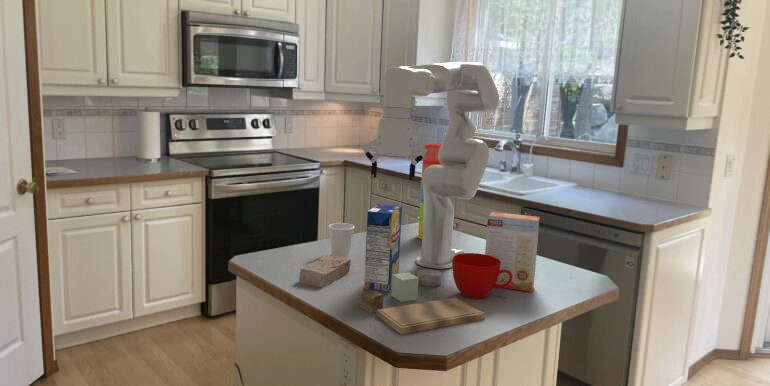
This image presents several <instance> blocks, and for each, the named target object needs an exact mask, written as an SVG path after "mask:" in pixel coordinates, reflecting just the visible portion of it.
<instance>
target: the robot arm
mask: <svg viewBox="0 0 770 386" xmlns="http://www.w3.org/2000/svg"><path fill="white" fill-rule="evenodd" d="M384 73H385V74H384V77H383V87H384V89H383V90H384V91H383V103H382V104H383V105H382V106H383V108H382V118H379V120H378V125H377V130H376V131H377V133H376V137H375V138H376V139H373V140H371V141H369V142H367V143H365V144H363V145H362V149H363V153H364V154H365V156H366V157H367V159H368V160H369V161H370V162H371V170H370V171H371V172H370V174H371V175H373V178H375V179H376V178H377V176H378V175H377V172H378V161H377V160H379V158H380V157H389V158H406V159H408V160H409V161H410V164H409V173H408V179H409V180H410V181H412V180H413V177H415V175H416V166H417V164H418V163H419V162H421V161H423V157H424V155H425V154H426V152H427V149H425V148H424V146H422V145H421V144H418V143H417V142H415V124H414V120H412V118H413V117H417V114H418V112H417V111H416V110H413V109H412V105H413V97H421V98H422V97H423V98H424V97H427V96H429V95H431V94H442V93H446V92H447V94H446V106H447V112H448V118H449V124H448V127H447V130H446V132H445V135H444V138H443V139H442V142H441V144H440V145H441V147H440V149H439V153H438V159H439V161H440V162H441V163H442V164H443V165H431V166H429V167H427V168H426V169H425V171H424V173H423V176H422V175H421V180H422V184H423V192H424V215H423V232H422V239H421V251H420V255H418V256H417V257H416V258H415V263H416V265H419V266H421V267H424V268H426V269H427V268H428V269H433V270H439V269H441V270H443V269H445V270H446V269H450V268H452V260H453V257H454V256H455V255H458V254H463V253H465V252H464V250H463V249H458V250H456V249H455V248H453V247H452V246H453V245H452V244H453V232H454V231H453V229H454V219H455V218H454V217H455V209H454V205H453V202H452V200H451V199H450V198H453V199H459V200H460V199H461V200H470V199H473V197H474V196H475V195H476V193H477V191H478V190H479V186H480V184H481V182H482V179H483V178H484V177H483V176H484V174H485V171H486V169H487V165H488V163H489V157H490V150H489V149H490V148H489V146H488V144H487V142H485V141H484V140H481V139H476V138H474V135H475V132H476V128H475V124H474V123H473V121H472V120H471V118H470V116H469V113H480V114H491V113H493V112H495V111H496V110H497V108H498V107H499V103H500V95H499V92H498V88H497V86H496V84H495V82H494V80H493V77H492V75H491V73H490V71H489V70H488V68H487V67H486V66H485V65H484V63H481V62H475V61H473V62H472V61H471V62H469V61H451V62H439V63H430V64H420V65H409V66H408V65H407V66H405V65H404V66H389V67H387V68H386V70H385V72H384ZM373 146H375V154H374V155H373V154H372V153H371V152H370V148H372V147H373ZM414 148H415V149H416V150H418V151H420V153H419V154H418V156H417V157H414V151H415V149H414Z"/></svg>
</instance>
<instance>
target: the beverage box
mask: <svg viewBox="0 0 770 386" xmlns="http://www.w3.org/2000/svg"><path fill="white" fill-rule="evenodd" d="M402 211H403V206H402V205H393V204H382V203H378V204H377V205H375V206H374V207H372V208H370V209H368V210H367V215H366V217H367V218H366V219H367V221H366V236H365V237H366V239H365V240H366V241H365V243H366V244H365V262H364V264H365V265H364V266H365V267H364V287H363V289H364V290H365V289H366V290H367V291H371V290H372V291H373V290H374V291H375V292H379V293H390V291H392V280H393V274H400V273H399V270H400V254H401V253H400V251H401V250H400V249H401V233H402V232H401V231H402Z"/></svg>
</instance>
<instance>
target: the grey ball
mask: <svg viewBox="0 0 770 386" xmlns="http://www.w3.org/2000/svg"><path fill="white" fill-rule="evenodd" d="M416 275H417V276H416V277H418V278H419V279H418V285H420V286H423V287H430V288H431V287H432V288H434V287H439V286H441V285H442V280H443V273H442V272H441V271H440V270H438V269H432V268H428V269H427V268H426V269H420V270H418V271H417V274H416Z"/></svg>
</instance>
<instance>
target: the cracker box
mask: <svg viewBox="0 0 770 386" xmlns="http://www.w3.org/2000/svg"><path fill="white" fill-rule="evenodd" d="M539 227H540V216H533V215H526V214H525V215H523V214H516V213H504V212H495V211H491V212H490V213H489V214H488V215H487V227H486V237H485V249H484V251H485V252H484V254H485V255H489V256H493V257H495V258H497V259H499V260H500V262H501V264H500V270H504V269H505V270H509V271H510V272H511V273H512V276H513V278H512V281H511V283H510V284H509V285H507V286H505V287H502V289H511V290H517V291H523V292H528V293H530V292H533V289H534V286H535V275H536V265H537V263H536V262H537V250H538V241H539V240H538V239H539V230H540V229H539ZM509 278H510V277H509V274H508V273H505V272H503V273H501V274H499V276H498V280H497V282H496V285H503V284H505V283H507V282H508V281H509Z"/></svg>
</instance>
